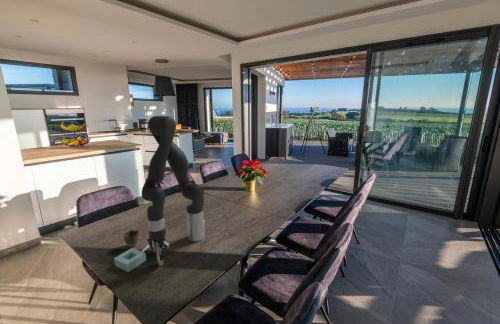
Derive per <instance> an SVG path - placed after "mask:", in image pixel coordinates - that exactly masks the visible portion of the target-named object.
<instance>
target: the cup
mask: <svg viewBox="0 0 500 324" xmlns="http://www.w3.org/2000/svg"><path fill="white" fill-rule="evenodd" d="M122 236H123V238H124V242H125V244H126V245H127V246H128V247H129V248H135V247H136V246H137V243H138V241H139V230H138V229H137V230H134V229H131V230H128V231H125V232H124V233H123V235H122Z"/></svg>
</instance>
